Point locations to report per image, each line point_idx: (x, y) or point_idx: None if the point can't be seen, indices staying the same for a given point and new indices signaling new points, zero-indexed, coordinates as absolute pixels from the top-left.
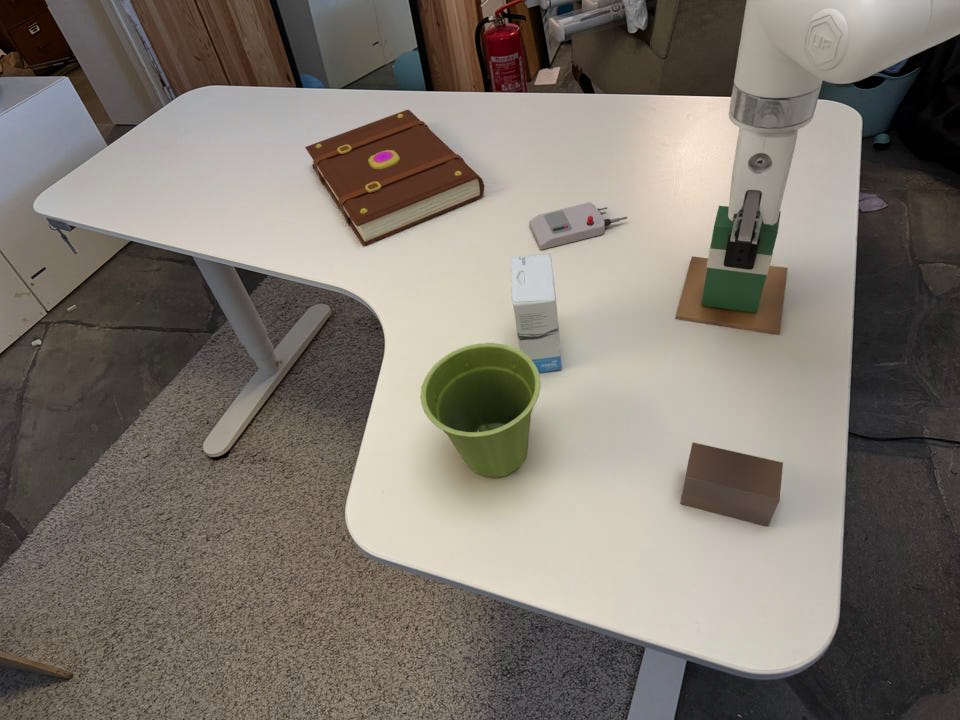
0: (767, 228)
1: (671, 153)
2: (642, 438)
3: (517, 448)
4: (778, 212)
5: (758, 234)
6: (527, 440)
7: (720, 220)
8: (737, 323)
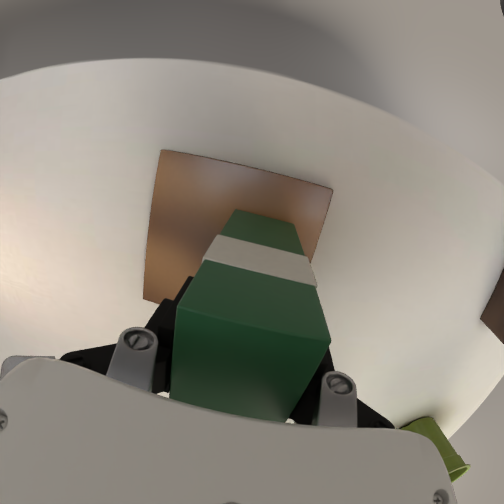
0: (301, 367)
1: None
2: (444, 354)
3: (446, 438)
4: (450, 481)
5: (356, 406)
6: (435, 432)
7: None
8: (310, 254)
